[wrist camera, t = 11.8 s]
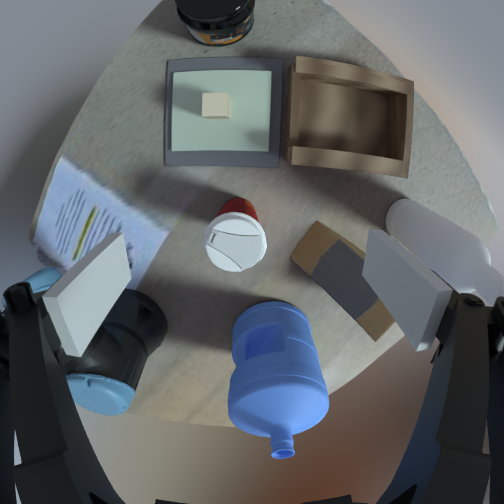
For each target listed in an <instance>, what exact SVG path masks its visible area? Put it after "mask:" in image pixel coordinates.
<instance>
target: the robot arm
mask: <svg viewBox="0 0 504 504" xmlns="http://www.w3.org/2000/svg"><path fill="white" fill-rule="evenodd" d="M362 276H363V277H364V278H365V280H366V281H367V282H368V284H369V285H370V286H371V288H372V289H373V290H374V292H375V293H376V294H377V296H378V297H379V298H380V300H381V301H382V303H383V304H384V305H385V307H386V308H387V310H388V311H389V312H390V314H391V315H392V317H393V318H394V319H395V321H396V322H397V324H398V325H399V327H400V328H401V329H402V331H403V332H404V334H405V335H406V337H407V338H408V339H409V341H410V343H411V344H412V346H413V347H414V349H415V350H416V351H420V350H425V349H429V348H431V346H432V343H433V341H434V339H435V337H437V338H438V340H439V341H440V344H439V346H438V348H437V350H436V352H435V354H434V356H433V359H432V360H431V363H433V362H434V364H433V368H432V373H431V377H430V380H429V384H428V388H427V391H426V395H425V398H424V401H423V405H422V408H421V411H420V414H419V417H418V420H417V423H416V426H415V428H414V431H413V434H412V436H411V439H410V442H409V444H408V447H407V449H406V451H405V454H404V456H403V458H402V460H401V463H400V465H399V467H398V469H397V471H396V474H395V476H394V478H393V480H392V482H391V484H390V485H389V487H388V488H387V490H386V491H385V492H384V493H383V495H382V496H381V497H380V499H379V500H378V501H377V503H376V504H482V503H483V500H484V496H485V492H486V488H487V484H488V480H489V475H490V504H504V348H503V350H502V352H501V348H502V346H503V344H504V297H503V296H499V297H497V299H496V301H495V304H494V306H493V307H486V306H485V304H484V302H483V301H482V300H481V299H480V298H478V297H477V296H475V295H473V294H469V293H461V294H459V293H458V292H457V291H456V290H455V289H454V288H452V287H451V286H450V285H449V284H448V283H447V282H445V280H444V279H443V278H441V277H440V276H439V275H438V274H437V273H436V272H435V271H433V270H431V269H429V268H428V267H427V266H426V265H425V264H423V263H422V262H421V261H420V260H419V259H417V258H416V257H415V256H414V255H413V254H412V253H410V252H409V251H408V250H407V249H405V248H404V247H403V246H402V245H401V244H399V243H398V242H397V241H396V240H394V239H393V238H392V237H390V236H389V235H388V234H387V233H385V232H384V231H383V230H381V229H369V233H368V241H367V247H366V254H365V260H364V266H363V272H362ZM131 279H132V278H131V273H130V269H129V263H128V258H127V253H126V247H125V241H124V235H123V233H111V234H109V235H108V236H107V237H106V238H105V239H103V240H102V241H101V242H100V243H99V244H98V245H96V246H95V247H94V248H93V249H92V250H91V251H90V252H88V253H87V254H86V255H85V256H84V257H83V258H82V259H81V260H79V261H78V262H77V263H76V264H75V265H74V266H73V267H72V268H71V269H70V270H69V271H67V272H66V273H65V274H64V275H62V274H61V273H60V272H59V270H58V269H56V268H55V267H46V268H44V269H41V270H40V271H38V272H36V273H34V274H33V275H31V276H30V277H28V278H27V279H25V280H24V281H23V282H20V283H17V284H14V285H12V286H11V287H9V288H8V289H7V290H6V291H5V292H4V294H3V296H4V298H3V300H2V303H3V307H4V308H5V310H4V311H3V312H2V313H1V311H0V504H17V501H16V491H15V484H16V487H17V491H18V494H19V497H20V501H21V504H125V503H124V501H123V500H122V499H121V498H120V497H119V496H118V494H117V493H116V492H115V490H114V489H113V487H112V485H111V483H110V482H109V480H108V478H107V476H106V474H105V472H104V471H103V469H102V467H101V465H100V463H99V461H98V459H97V457H96V454H95V453H94V450H93V448H92V446H91V444H90V441H89V439H88V437H87V435H86V432H85V430H84V427H83V425H82V422H81V420H80V417H79V414H78V412H77V409H76V406H75V403H77V404H78V405H80V406H81V407H83V408H85V409H87V410H90V411H92V412H95V413H99V414H102V415H119V414H122V413H124V412H125V411H126V410H127V409H128V408H129V405H130V403H131V401H132V399H133V397H134V396H135V391H136V388H137V385H138V382H139V380H140V377H141V374H142V371H143V368H144V366H145V363H146V360H147V358H148V357H149V356H150V355H151V354H152V353H153V351H154V350H155V349H156V348H158V347H159V346H160V345H161V343H162V342H163V340H164V337H165V334H166V331H167V322H166V318H165V316H164V314H163V312H162V310H161V309H160V308H159V306H158V305H157V304H156V303H155V302H154V301H153V300H151V299H150V298H149V297H147V296H146V295H144V294H142V293H140V292H137V291H134V290H128V289H125V287H126V286H127V284H128V283H129V281H130V280H131ZM74 402H75V403H74ZM486 419H487V426H488V436H489V450H490V455H489V454H483V453H482V447H483V441H484V435H485V426H486ZM15 431H16V436H17V441H18V446H19V451H20V456H21V461H22V463H21V464H19V465H15V466H14V434H15ZM155 504H186V503H178V502H171V501H163V500H158V499H156V501H155ZM302 504H368V503H358V502H357V503H356V502H352V499H351V495H346V496H341V497H336V498H331V499H325V500H319V501H313V502H306V503H302Z"/></svg>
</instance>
